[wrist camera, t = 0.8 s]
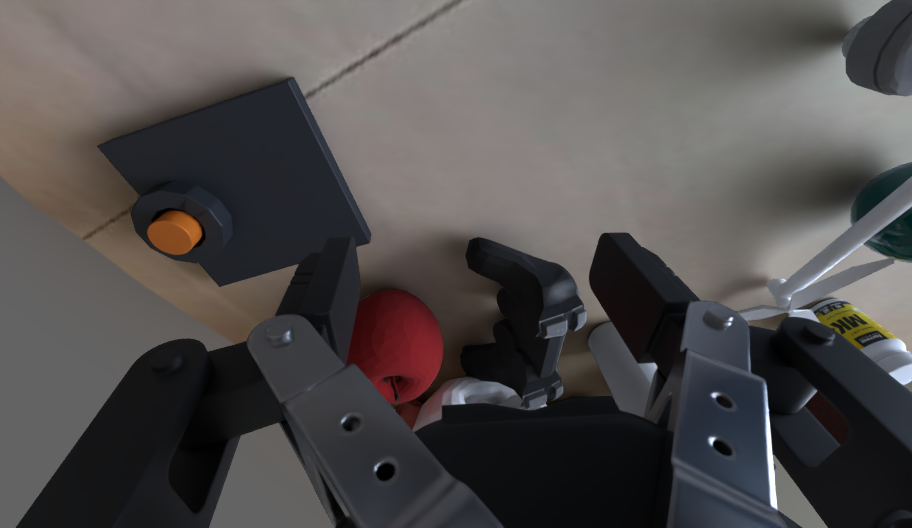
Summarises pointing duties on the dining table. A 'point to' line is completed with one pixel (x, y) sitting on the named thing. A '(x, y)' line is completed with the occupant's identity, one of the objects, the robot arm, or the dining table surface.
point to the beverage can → (621, 369)
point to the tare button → (175, 232)
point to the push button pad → (241, 182)
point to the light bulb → (882, 50)
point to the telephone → (467, 398)
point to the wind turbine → (833, 262)
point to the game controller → (524, 322)
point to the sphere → (904, 235)
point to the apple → (396, 344)
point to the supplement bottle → (867, 337)
